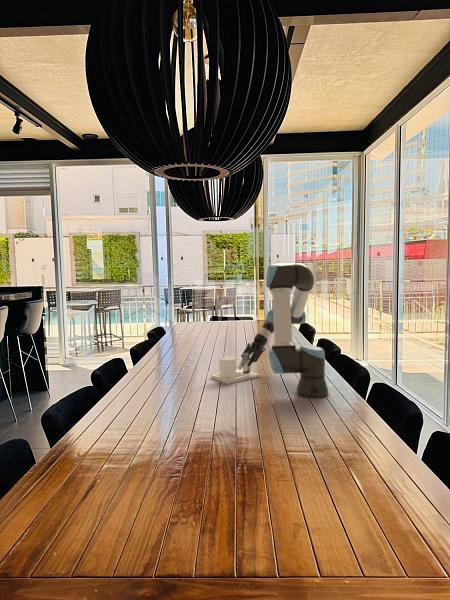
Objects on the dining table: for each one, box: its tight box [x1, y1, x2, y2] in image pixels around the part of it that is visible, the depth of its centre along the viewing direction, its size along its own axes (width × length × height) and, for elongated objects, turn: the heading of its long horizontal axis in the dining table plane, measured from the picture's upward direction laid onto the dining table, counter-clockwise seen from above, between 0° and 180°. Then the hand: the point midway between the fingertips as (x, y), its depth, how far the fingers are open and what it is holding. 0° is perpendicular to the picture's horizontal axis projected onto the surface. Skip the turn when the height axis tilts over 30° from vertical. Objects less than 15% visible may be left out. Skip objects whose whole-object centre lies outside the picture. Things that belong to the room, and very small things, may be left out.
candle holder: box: [218, 355, 237, 379], centre depth 237 cm, size 10×10×12 cm
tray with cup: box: [210, 352, 261, 385], centre depth 241 cm, size 16×22×12 cm
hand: (241, 369), depth 244 cm, fingers closed on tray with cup, 4 cm apart
